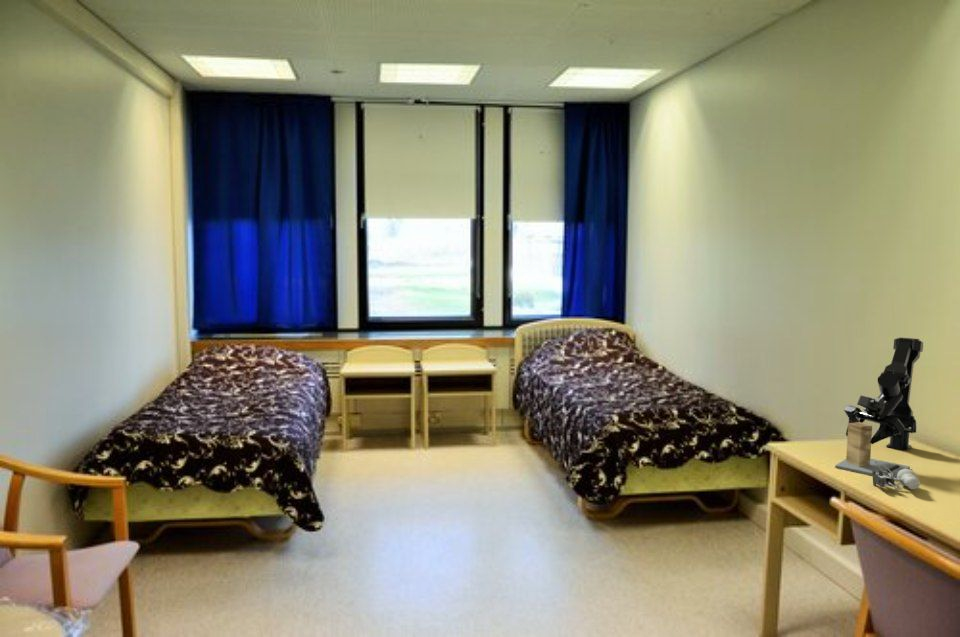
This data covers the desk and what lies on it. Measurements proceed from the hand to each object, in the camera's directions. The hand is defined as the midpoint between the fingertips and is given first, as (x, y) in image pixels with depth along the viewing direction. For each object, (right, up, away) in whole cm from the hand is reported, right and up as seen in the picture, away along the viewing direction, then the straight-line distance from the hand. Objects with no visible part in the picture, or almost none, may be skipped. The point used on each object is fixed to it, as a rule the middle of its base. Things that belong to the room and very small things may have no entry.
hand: (858, 439), depth 224 cm
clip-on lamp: (+1, -11, -16) cm, 19 cm away
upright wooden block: (0, -8, +1) cm, 8 cm away
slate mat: (+4, -9, -1) cm, 10 cm away
